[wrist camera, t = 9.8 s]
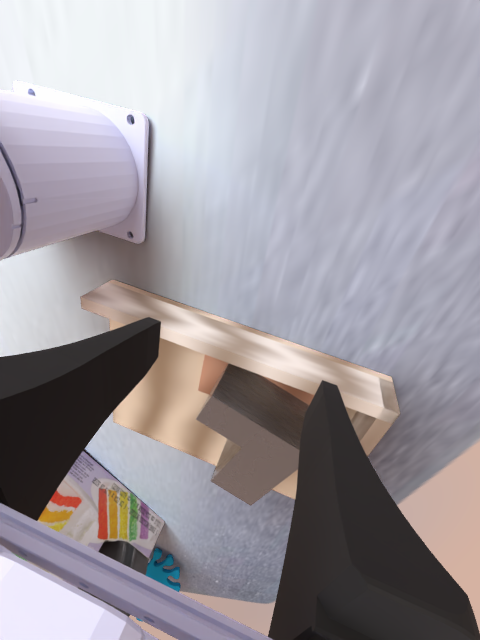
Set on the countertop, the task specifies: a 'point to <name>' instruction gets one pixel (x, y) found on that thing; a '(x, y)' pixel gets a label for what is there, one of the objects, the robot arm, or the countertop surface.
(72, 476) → the cake pan box
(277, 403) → the bracket
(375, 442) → the board
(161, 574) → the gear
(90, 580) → the robot arm
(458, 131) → the countertop surface
